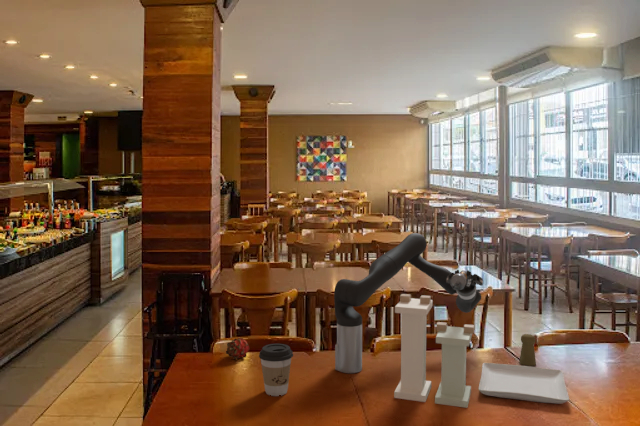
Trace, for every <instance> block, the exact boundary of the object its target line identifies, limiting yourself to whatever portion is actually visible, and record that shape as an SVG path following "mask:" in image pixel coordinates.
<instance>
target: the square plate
mask: <svg viewBox="0 0 640 426" xmlns="http://www.w3.org/2000/svg"><path fill="white" fill-rule="evenodd" d="M480 375H481V376H480V380H479V385H478V391H479V392H480V393H481V394H483V395H485V396H490V397H497V398H503V399H510V400H512V399H513V400H520V401H526V402H534V403H545V404H559V405H560V404H564V403H567V402H568V401H570V396H569V392H568V389H567V386H566V381H565V375H564V371H563V370H561V369H553V368H546V367H537V366H525V365H521V364H519V365H517V364H507V363H506V364H505V363H493V362H483V363H482V366H481V374H480Z"/></svg>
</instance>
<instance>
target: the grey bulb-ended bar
mask: <svg viewBox="0 0 640 426" xmlns="http://www.w3.org/2000/svg"><path fill="white" fill-rule="evenodd" d="M454 274H455V273H454ZM466 279H467V270H462V269H461V270H460V271H459V273H457V274H455V275H453V277H452V278H451V280H450V285H451V287H452V288H453V289H455V290H462V289H463V288H464V287H465V285H466V282H467V280H466Z"/></svg>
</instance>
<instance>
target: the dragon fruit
mask: <svg viewBox="0 0 640 426" xmlns="http://www.w3.org/2000/svg"><path fill="white" fill-rule="evenodd" d="M226 345H227V348H226V351H225V354H226V355H228V357H230V358H232V359H233V360H236V359H238V360H240V358H242V359H243V358H246V357H247V353H248V352H249V351H250V345H249V344H248V341H247V340H245V339H243V338H242V337H237V338H234V339H232V340H231V342H227V343H226Z"/></svg>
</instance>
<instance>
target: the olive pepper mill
mask: <svg viewBox="0 0 640 426" xmlns="http://www.w3.org/2000/svg"><path fill="white" fill-rule="evenodd" d="M520 341H521V350H520V355H519V361H518V363H519V365H521V366H529V367H535V366H536V365H537V361H536V352H535V343H536V336H535V335H533V334H531V333H530V334H529V333H524V334H522V335H521V337H520Z"/></svg>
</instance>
